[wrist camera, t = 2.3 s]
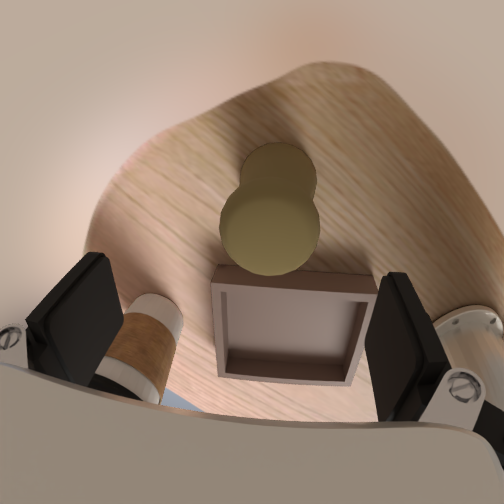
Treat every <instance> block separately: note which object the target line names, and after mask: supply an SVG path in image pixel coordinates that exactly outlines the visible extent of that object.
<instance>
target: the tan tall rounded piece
mask: <svg viewBox="0 0 504 504" xmlns="http://www.w3.org/2000/svg"><path fill="white" fill-rule="evenodd" d="M316 184H317V178H316V170H315V168H314V166H313V164H312V161H311V159H310V158H309V157H308V156H307V155H306V154H305V153H304V152H303V151H302V150H300V149H298V148H296V147H294V146H293V145H290V144H285V143H271V144H266V145H264V146H261V147H259V148H257V149H255V150H254V151H253V152H252V153H251V154H250V155H249V156H248V157H247V159H246V161H245V163H244V164H243V166H242V170H241V177H240V185H239V187H238V188H237V189H236V190H235V191H234V192H233V193H232V194H231V195H230V196H229V198H228V199H227V201H226V203H225V205H224V207H223V209H222V211H221V217H220V225H219V230H220V235H221V240H222V244H223V246H224V248H225V250H226V251H227V253H228V255H229V256H230V258H232V259H233V260H234V261H235V262H236V263H237V264H238V265H239V266H240V267H242V268H244V269H246V270H248V271H250V272H252V273H254V274H259V275H264V276H274V275H283V274H285V273H288V272H291V271H293V270H296V269H297V268H298V267H300V266H301V265H302V264H304V263H305V262H306V261H307V260H308V259H309V257H310V256H311V254H312V253H313V251H314V250H315V248H316V246H317V242H318V238H319V235H320V222H319V214H318V211H317V209H316V207H315V204H314V202H313V197H314V193H315V189H316Z"/></svg>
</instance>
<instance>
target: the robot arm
mask: <svg viewBox="0 0 504 504" xmlns="http://www.w3.org/2000/svg"><path fill="white" fill-rule="evenodd" d="M25 320H26V322H27V324H28V328H27V329H26V330H25V328H24V327H23V326H22V325H20V324H9V325H6V326H4V327H2V328H1V329H0V504H504V341H503V340H502V337H503V324H502V321H501V319H500V318H499V316H498V315H497V313H496V312H495V311H494V310H493V309H491V308H489V307H486V306H482V305H471V306H466V307H462V308H459V309H456V310H454V311H452V312H450V313H448V314H446V315H444V316H442V317H441V318H439V319H438V320H436V321H435V322H434V323H432V321H431V319H430V317H429V315H428V314H427V313H426V312H425V310H424V308H423V306H422V303H421V301H420V299H419V297H418V295H417V293H416V291H415V289H414V287H413V285H412V283H411V281H410V280H409V278H408V276H407V274H406V273H401V272H389V273H388V275H387V276H383V277H382V280H381V283H380V287H379V291H378V295H377V298H376V302H375V305H374V309H373V312H372V316H371V319H370V323H369V326H368V329H367V332H366V336H365V342H364V345H365V351H366V356H367V361H368V366H369V371H370V376H371V381H372V386H373V392H374V397H375V403H376V409H377V415H378V421H379V422H300V421H281V420H267V419H255V418H245V417H236V416H227V415H219V414H211V413H204V412H198V411H191V410H185V409H180V408H173V407H168V406H163V405H158V404H153V403H148V402H144V401H139V400H135V399H130V398H126V397H122V396H118V395H114V394H110V393H106V392H102V391H99V390H95V389H91V388H88V387H87V386H88V384H89V382H90V381H91V379H92V377H93V375H94V374H95V372H96V370H97V368H98V366H99V365H100V363H101V361H102V359H103V358H104V356H105V354H106V352H107V351H108V349H109V347H110V346H111V344H112V342H113V340H114V339H115V337H116V335H117V334H118V332H119V330H120V329H121V327H122V325H123V322H124V316H123V312H122V309H121V305H120V301H119V297H118V293H117V290H116V286H115V282H114V277H113V273H112V269H111V265H110V261H109V259H108V258H107V257H106V256H105V254H104V253H98V252H88V253H87V254H86V255H85V256H84V257H83V258H82V259H81V260H80V261H79V262H78V263H77V264H76V265H75V266H74V267H73V268H72V269H71V270H70V271H69V272H68V273H67V274H66V275H65V276H64V277H63V278H62V279H61V280H60V282H59V283H58V284H57V285H56V286H55V287H54V288H53V289H52V290H51V291H50V292H49V293H48V294H47V295H46V297H45V298H44V299H43V300H42V301H41V302H40V303H39V304H38V306H37V307H36V308H35V309H34V310H33V311H32V312H31V314H30V315H29V316H28V317H27V318H26V319H25Z"/></svg>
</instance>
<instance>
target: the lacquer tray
mask: <svg viewBox="0 0 504 504" xmlns="http://www.w3.org/2000/svg"><path fill="white" fill-rule="evenodd" d="M211 295H212V309H213V323H214V336H215V348H216V360H217V371H218V377H224V378H232V379H240V380H249V381H259V382H270V383H283V384H298V385H316V386H351V384H352V381H353V378H354V375H355V372H356V369H357V367H358V364H359V361H360V358H361V355H362V352H363V349H364V346H365V345H364V342H365V336H366V332H367V329H368V326H369V323H370V319H371V316H372V312H373V309H374V305H375V302H376V298H377V295H378V289H377V286H376V283H375V280H374V277H373V276H372V275H357V274H341V273H327V272H312V271H298V270H293V271H291V272H288V273H285V274H283V275H274V276H264V275H259V274H254V273H252V272H250V271H248V270H246V269H244V268H242V267H240V266H232V265H219V264H218V267H217V269H216V271H215V274H214V276H213V278H212V281H211Z"/></svg>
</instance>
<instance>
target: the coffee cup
mask: <svg viewBox="0 0 504 504" xmlns="http://www.w3.org/2000/svg"><path fill="white" fill-rule="evenodd" d="M123 316H124V322H123V325H122V327H121V329H120V330H119V332H118V334H117V335H116V337H115V339H114V340H113V342H112V344H111V346H110V347H109V349H108V351H107V352H106V354H105V356H104V358H103V359H102V361H101V363H100V365H99V366H98V368H97V370H96V372H95V374H94V375H93V377H92V379H91V381H90V382H89V384H88V386H87V387H88V388H91V389H95V390H99V391H102V392H106V393H110V394H114V395H118V396H122V397H126V398H130V399H135V400H139V401H144V402H148V403H153V404H158V405H160V404H161V401H162V397H163V393H164V390H165V386H166V382H167V379H168V375H169V372H170V368H171V364H172V361H173V357H174V354H175V350H176V346H177V343H178V340H179V337H180V334H181V331H182V327H183V316H182V314H181V312H180V310H179V309H178V307H177V306H176V305H175V304H174V303H173V302H172V301H170V300H169V299H167V298H165V297H163V296H161V295H158V294H151V293H149V294H143V295H141V296H139V297H137V298H136V300H135V301H134V302H133V303H132V304H131V305H130V307H129V308H128V309H127V310H126V312H125V313H124V314H123Z"/></svg>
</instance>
